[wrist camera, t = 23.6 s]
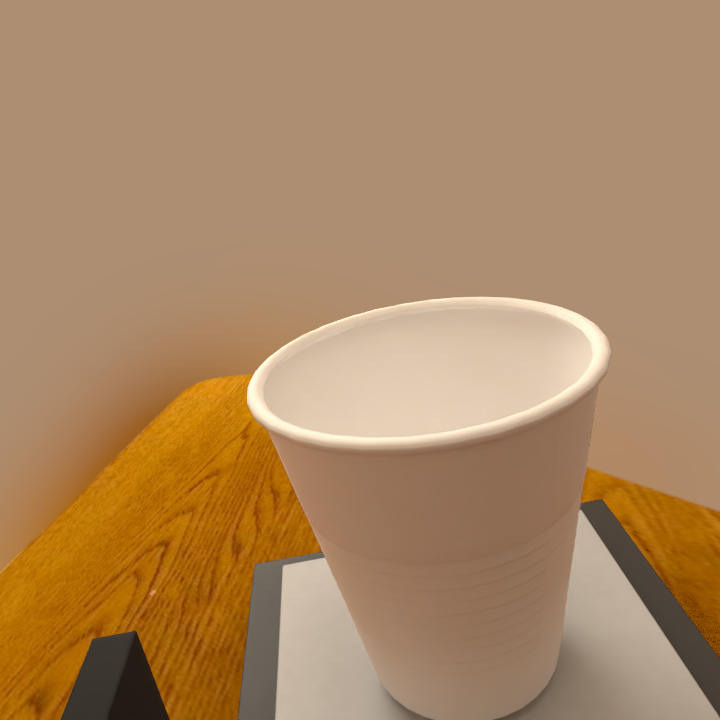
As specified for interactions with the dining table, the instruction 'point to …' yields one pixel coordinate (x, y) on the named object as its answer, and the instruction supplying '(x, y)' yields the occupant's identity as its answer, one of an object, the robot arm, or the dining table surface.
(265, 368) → the cup
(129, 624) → the dining table surface
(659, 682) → the scale
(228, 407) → the dining table surface
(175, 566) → the dining table surface
